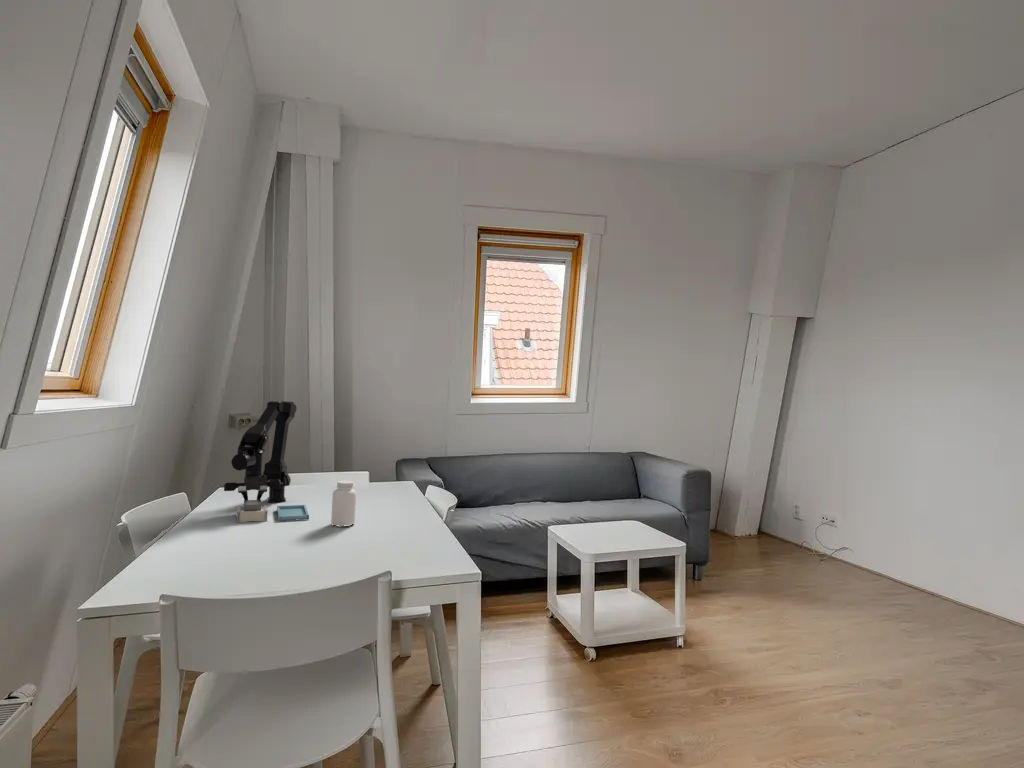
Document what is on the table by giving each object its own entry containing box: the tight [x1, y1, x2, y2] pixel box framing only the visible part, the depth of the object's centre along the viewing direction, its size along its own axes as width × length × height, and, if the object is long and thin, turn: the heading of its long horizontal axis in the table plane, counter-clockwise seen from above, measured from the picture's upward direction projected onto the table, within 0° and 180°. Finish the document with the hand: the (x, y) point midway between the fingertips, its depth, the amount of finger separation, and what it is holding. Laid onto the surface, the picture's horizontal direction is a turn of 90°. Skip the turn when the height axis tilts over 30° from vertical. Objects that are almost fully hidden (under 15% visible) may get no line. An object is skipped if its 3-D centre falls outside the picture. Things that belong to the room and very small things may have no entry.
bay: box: [236, 504, 269, 523], centre depth 208 cm, size 8×10×4 cm
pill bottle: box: [330, 480, 357, 526], centre depth 207 cm, size 8×8×15 cm
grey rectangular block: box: [243, 499, 262, 511], centre depth 211 cm, size 12×6×6 cm, turn 25°
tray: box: [276, 504, 310, 522], centre depth 216 cm, size 15×10×2 cm, turn 24°
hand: (252, 508), depth 216 cm, fingers closed on grey rectangular block, 2 cm apart
